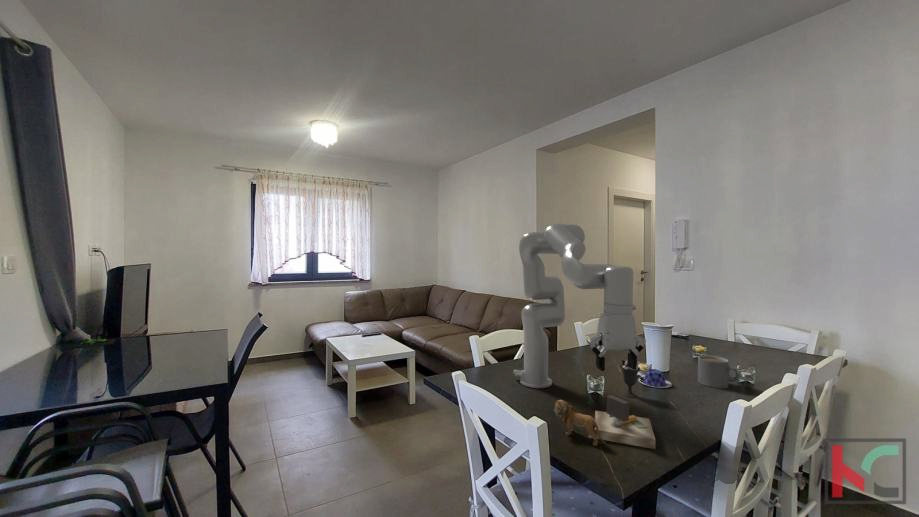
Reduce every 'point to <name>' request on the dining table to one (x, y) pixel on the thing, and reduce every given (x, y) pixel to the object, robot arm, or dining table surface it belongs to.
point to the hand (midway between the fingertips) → (616, 368)
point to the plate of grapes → (655, 379)
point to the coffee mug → (715, 371)
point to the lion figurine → (576, 420)
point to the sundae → (629, 378)
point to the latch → (619, 410)
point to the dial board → (625, 431)
